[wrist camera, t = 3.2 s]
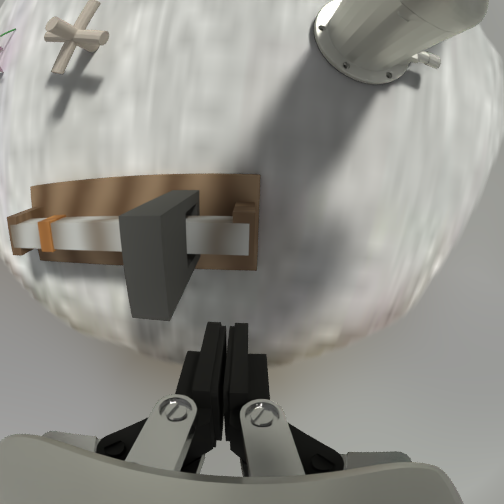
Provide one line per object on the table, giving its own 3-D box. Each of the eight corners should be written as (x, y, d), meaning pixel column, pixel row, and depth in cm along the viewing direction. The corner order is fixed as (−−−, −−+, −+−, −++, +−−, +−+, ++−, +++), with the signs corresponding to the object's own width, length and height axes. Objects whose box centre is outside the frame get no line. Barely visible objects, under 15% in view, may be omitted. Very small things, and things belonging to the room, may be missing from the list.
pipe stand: (260, 174, 30) (262, 179, 24) (256, 267, 34) (257, 295, 27) (34, 185, 30) (1, 194, 23) (43, 258, 34) (14, 276, 27)
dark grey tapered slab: (199, 190, 30) (160, 215, 17) (200, 256, 32) (169, 321, 19) (172, 190, 30) (118, 216, 17) (175, 255, 32) (132, 317, 19)
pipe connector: (105, 85, 26) (60, 68, 17) (55, 76, 25) (8, 64, 16) (140, 18, 23) (107, -16, 14) (85, 15, 22) (47, -10, 13)
